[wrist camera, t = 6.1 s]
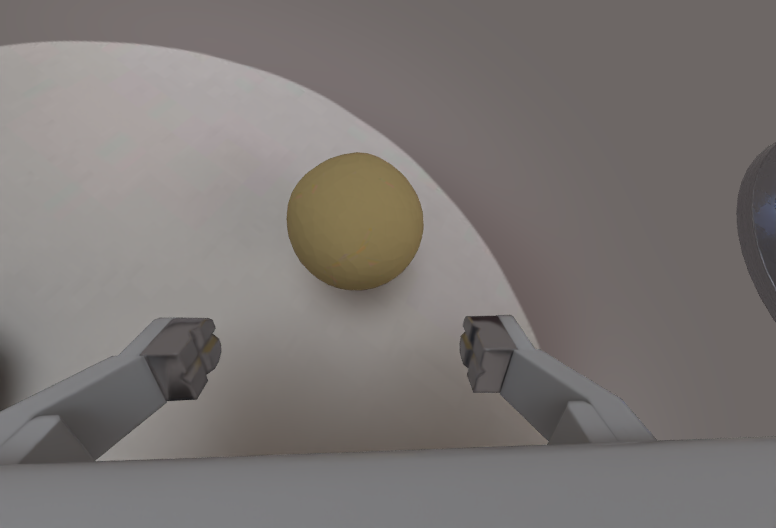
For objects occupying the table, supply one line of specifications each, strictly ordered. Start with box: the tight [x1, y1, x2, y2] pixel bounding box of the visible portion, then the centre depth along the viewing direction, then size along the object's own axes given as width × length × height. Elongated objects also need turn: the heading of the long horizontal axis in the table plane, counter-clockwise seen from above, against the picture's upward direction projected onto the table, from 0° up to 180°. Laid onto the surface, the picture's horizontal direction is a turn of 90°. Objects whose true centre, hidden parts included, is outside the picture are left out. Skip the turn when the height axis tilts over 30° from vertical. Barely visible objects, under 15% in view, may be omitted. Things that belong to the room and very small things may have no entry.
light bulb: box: [287, 152, 424, 290], centre depth 16 cm, size 6×6×10 cm
